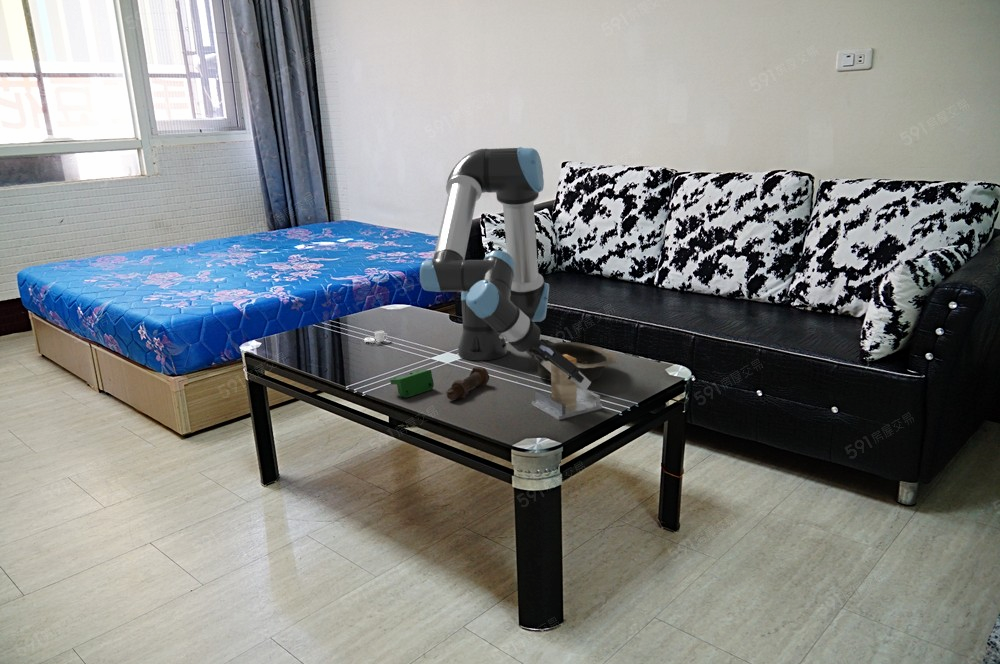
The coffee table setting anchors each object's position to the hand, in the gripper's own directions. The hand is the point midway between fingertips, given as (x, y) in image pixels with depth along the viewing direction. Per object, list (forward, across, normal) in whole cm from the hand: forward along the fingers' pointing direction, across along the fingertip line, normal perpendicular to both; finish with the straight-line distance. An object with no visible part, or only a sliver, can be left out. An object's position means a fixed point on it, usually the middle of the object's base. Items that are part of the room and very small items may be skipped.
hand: (573, 379), depth 187 cm
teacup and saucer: (-9, -85, -20) cm, 87 cm away
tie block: (+2, 0, -6) cm, 6 cm away
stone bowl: (+14, -18, +4) cm, 23 cm away
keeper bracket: (+3, 0, -7) cm, 7 cm away
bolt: (-8, -24, -18) cm, 31 cm away
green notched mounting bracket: (-16, -32, -26) cm, 45 cm away
